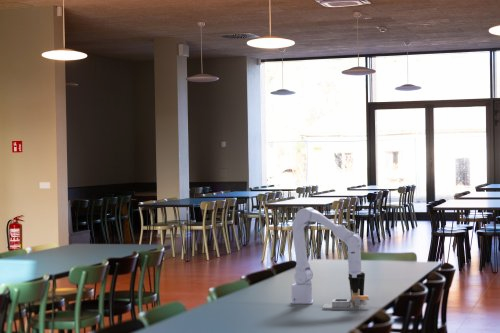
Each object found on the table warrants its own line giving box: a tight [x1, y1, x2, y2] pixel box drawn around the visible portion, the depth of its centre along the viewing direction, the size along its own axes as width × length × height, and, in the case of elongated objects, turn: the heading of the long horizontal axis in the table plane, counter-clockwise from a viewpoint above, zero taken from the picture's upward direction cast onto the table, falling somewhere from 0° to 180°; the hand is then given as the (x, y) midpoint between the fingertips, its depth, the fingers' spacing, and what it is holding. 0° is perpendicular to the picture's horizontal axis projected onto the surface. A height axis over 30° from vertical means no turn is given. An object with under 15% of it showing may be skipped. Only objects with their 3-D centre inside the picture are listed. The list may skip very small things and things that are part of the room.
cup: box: [348, 272, 366, 300], centre depth 372 cm, size 8×8×12 cm
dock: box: [322, 297, 361, 311], centre depth 352 cm, size 16×10×5 cm, turn 80°
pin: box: [351, 295, 369, 301], centre depth 350 cm, size 7×2×2 cm, turn 80°
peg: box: [351, 289, 360, 304], centre depth 359 cm, size 4×4×7 cm
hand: (355, 291), depth 359 cm, fingers open, 7 cm apart
